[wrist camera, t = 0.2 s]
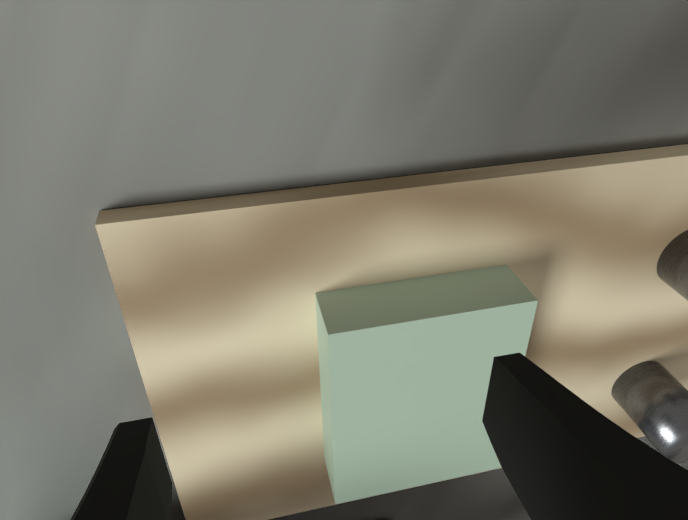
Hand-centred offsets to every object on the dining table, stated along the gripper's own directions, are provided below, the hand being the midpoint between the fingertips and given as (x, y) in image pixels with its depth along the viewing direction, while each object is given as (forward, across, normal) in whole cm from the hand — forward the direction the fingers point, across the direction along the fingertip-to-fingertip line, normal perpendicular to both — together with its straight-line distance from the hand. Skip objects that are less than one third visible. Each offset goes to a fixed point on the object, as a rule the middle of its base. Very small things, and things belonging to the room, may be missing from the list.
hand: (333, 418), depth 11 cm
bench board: (+10, -8, +8) cm, 15 cm away
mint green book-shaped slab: (+9, -5, +8) cm, 13 cm away
